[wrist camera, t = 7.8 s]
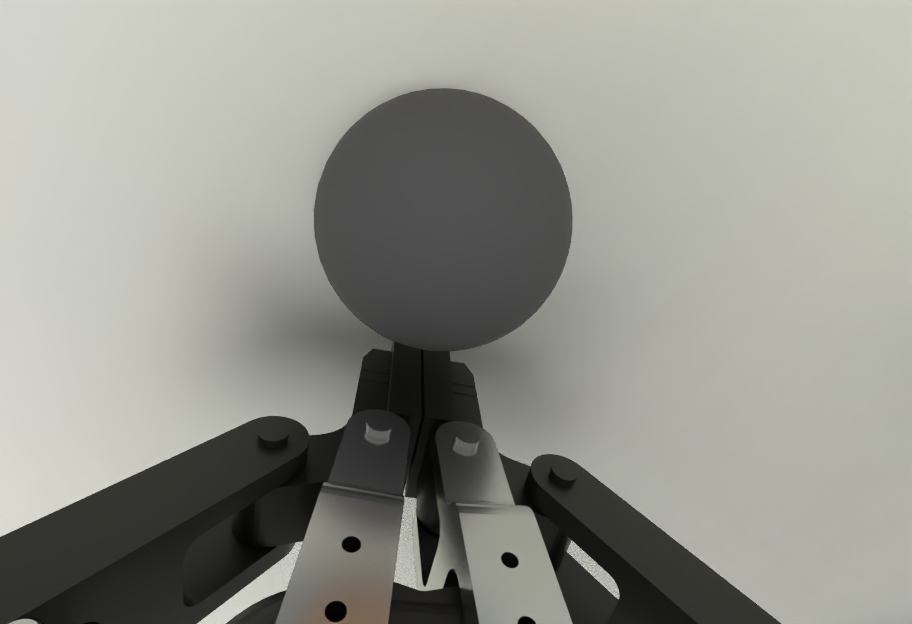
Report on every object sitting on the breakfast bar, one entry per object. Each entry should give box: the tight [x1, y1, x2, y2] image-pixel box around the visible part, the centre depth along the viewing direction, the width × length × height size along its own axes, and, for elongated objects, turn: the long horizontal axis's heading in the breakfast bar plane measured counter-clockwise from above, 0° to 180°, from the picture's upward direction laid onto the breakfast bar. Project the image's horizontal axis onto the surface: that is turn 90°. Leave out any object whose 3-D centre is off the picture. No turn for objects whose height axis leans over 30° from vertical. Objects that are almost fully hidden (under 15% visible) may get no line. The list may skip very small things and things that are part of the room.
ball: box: [314, 88, 572, 351], centre depth 11 cm, size 6×6×6 cm
